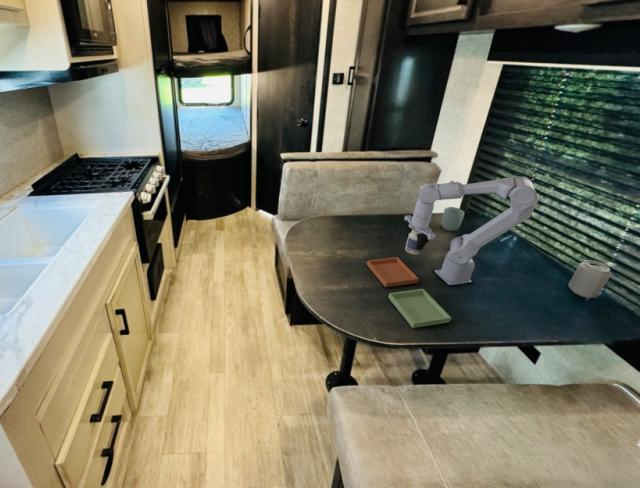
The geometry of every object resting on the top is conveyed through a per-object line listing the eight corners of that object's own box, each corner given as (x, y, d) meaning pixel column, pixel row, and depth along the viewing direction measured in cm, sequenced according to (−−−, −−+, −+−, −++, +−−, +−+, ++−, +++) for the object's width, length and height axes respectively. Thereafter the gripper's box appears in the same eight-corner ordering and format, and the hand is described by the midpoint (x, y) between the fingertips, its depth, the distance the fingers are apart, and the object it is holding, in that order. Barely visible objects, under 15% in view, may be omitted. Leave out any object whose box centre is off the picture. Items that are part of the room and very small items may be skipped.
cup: (436, 224, 154) (441, 206, 149) (453, 224, 153) (459, 207, 149) (444, 232, 147) (450, 214, 142) (461, 233, 146) (468, 215, 142)
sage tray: (421, 292, 112) (423, 288, 111) (449, 322, 100) (451, 317, 100) (388, 297, 110) (389, 293, 109) (412, 328, 99) (414, 323, 98)
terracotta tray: (396, 260, 129) (397, 256, 128) (417, 282, 117) (418, 278, 116) (366, 264, 127) (367, 260, 126) (385, 287, 115) (386, 283, 114)
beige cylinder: (588, 287, 114) (604, 260, 109) (601, 301, 108) (619, 274, 102) (562, 282, 116) (577, 256, 111) (574, 296, 110) (590, 269, 105)
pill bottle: (422, 255, 121) (428, 234, 117) (407, 254, 122) (412, 233, 118) (417, 247, 126) (423, 227, 122) (403, 246, 127) (408, 225, 123)
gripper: (400, 206, 123) (393, 235, 129) (426, 225, 110) (417, 257, 116) (416, 205, 124) (409, 233, 130) (444, 224, 111) (434, 255, 117)
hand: (414, 244), depth 123 cm, fingers closed on pill bottle, 5 cm apart
